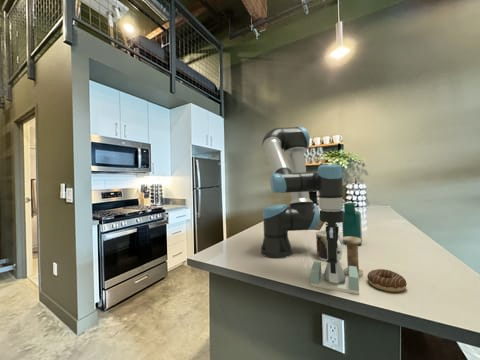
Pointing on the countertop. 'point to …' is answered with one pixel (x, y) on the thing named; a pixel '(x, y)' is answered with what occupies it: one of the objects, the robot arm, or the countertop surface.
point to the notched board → (346, 286)
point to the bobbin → (352, 253)
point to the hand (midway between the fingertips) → (334, 276)
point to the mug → (325, 245)
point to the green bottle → (352, 222)
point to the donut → (386, 280)
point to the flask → (340, 272)
